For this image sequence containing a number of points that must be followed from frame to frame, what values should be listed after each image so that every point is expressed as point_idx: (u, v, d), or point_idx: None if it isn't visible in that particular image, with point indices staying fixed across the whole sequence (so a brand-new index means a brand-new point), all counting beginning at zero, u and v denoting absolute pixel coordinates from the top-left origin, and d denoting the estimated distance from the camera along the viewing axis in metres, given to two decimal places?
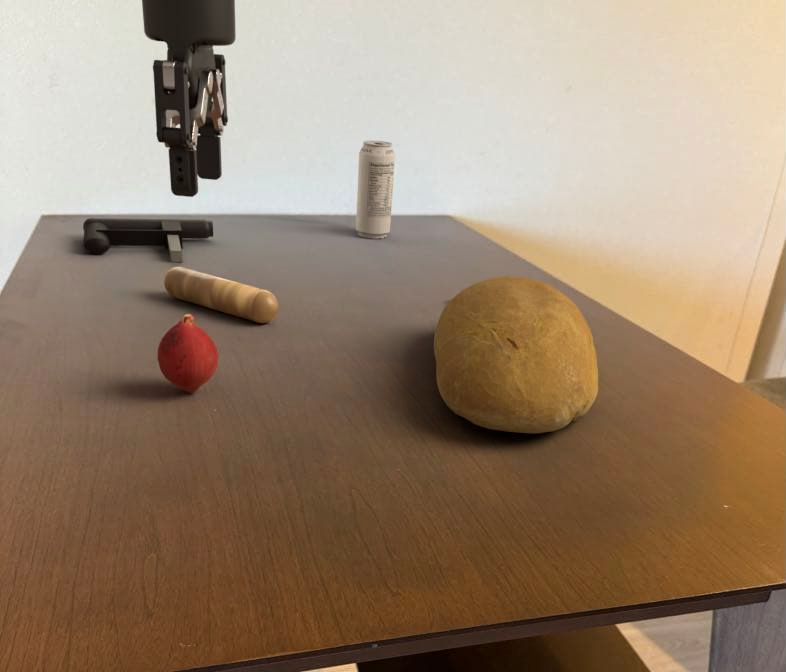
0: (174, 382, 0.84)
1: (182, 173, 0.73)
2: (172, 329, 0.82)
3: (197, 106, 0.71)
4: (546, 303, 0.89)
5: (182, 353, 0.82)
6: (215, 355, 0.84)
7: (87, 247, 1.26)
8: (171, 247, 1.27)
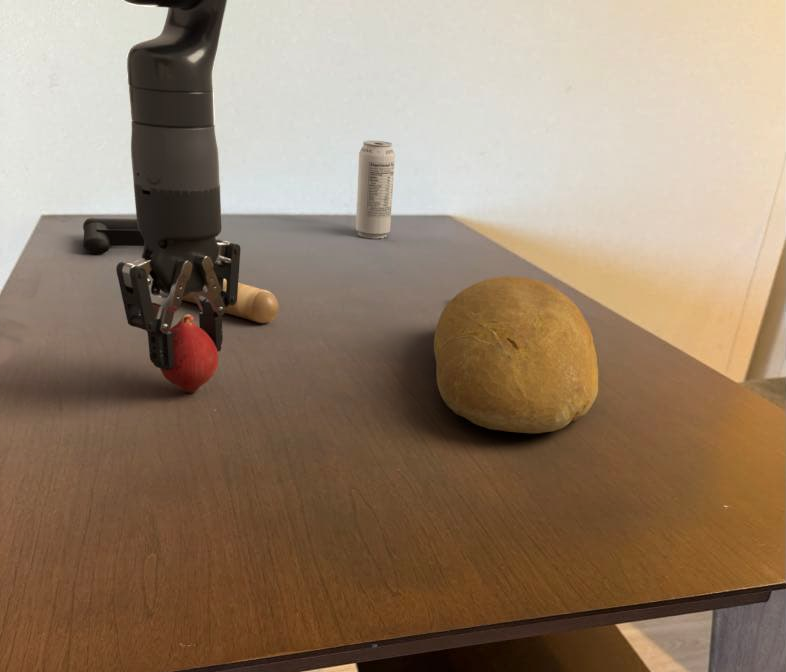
0: (174, 382, 0.84)
1: (156, 351, 0.80)
2: (172, 329, 0.82)
3: (169, 296, 0.78)
4: (546, 303, 0.89)
5: (182, 353, 0.82)
6: (215, 355, 0.84)
7: (87, 248, 1.26)
8: None
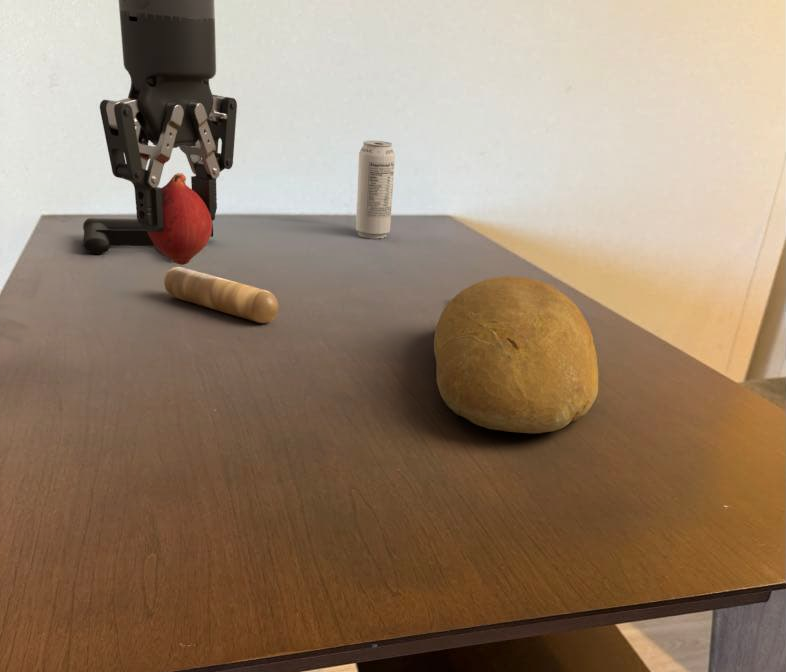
0: (163, 249, 0.77)
1: (143, 209, 0.74)
2: (162, 189, 0.76)
3: (158, 143, 0.71)
4: (546, 303, 0.89)
5: (173, 214, 0.75)
6: (208, 220, 0.77)
7: (87, 248, 1.26)
8: None
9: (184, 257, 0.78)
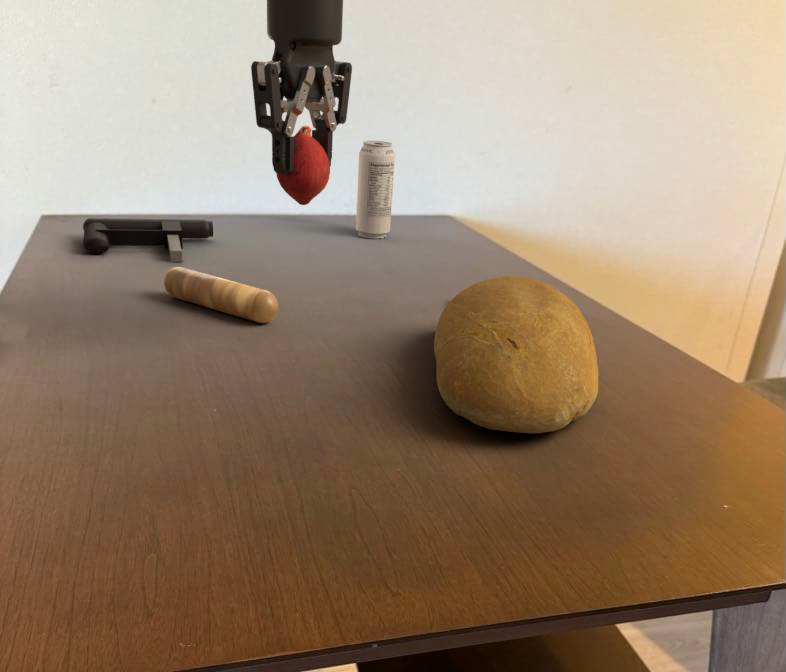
0: (291, 190, 0.91)
1: (278, 154, 0.88)
2: None
3: (295, 98, 0.86)
4: (546, 303, 0.89)
5: (302, 160, 0.89)
6: (329, 166, 0.92)
7: (87, 248, 1.26)
8: (171, 247, 1.27)
9: (307, 198, 0.93)
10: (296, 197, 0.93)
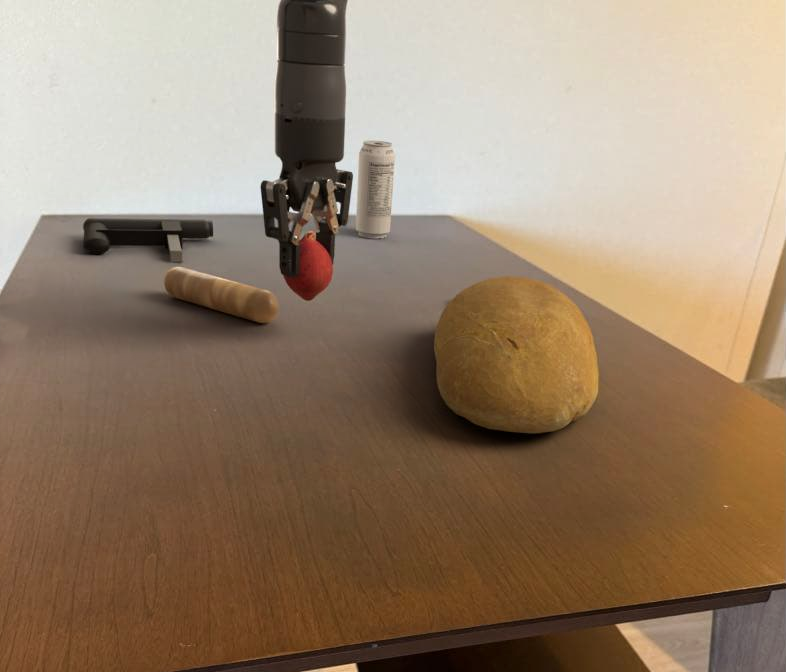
0: (297, 289, 0.98)
1: (285, 260, 0.95)
2: None
3: (300, 211, 0.93)
4: (546, 303, 0.89)
5: (307, 263, 0.96)
6: (332, 267, 0.99)
7: (87, 248, 1.26)
8: (171, 247, 1.27)
9: (311, 295, 1.00)
10: (301, 295, 1.00)
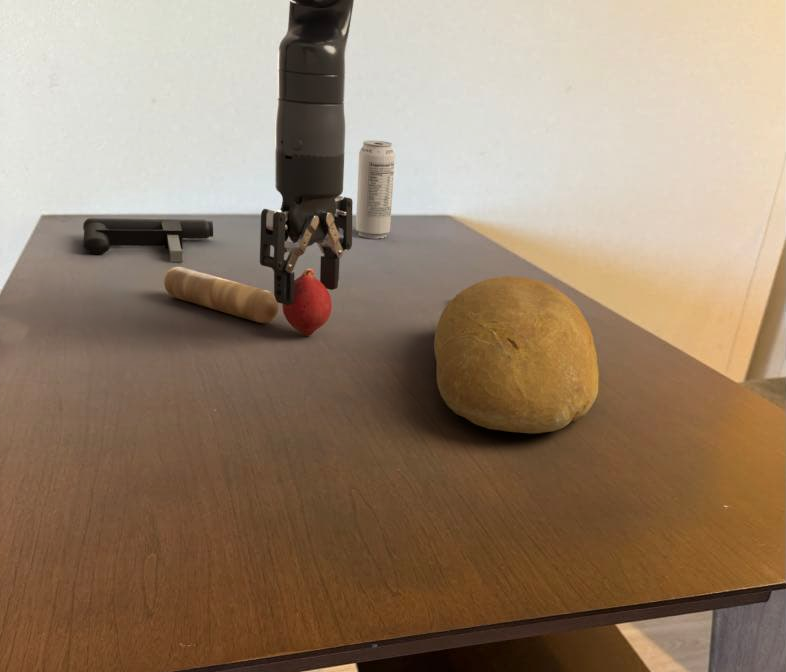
0: (296, 325, 1.01)
1: (280, 288, 0.96)
2: (296, 281, 0.99)
3: (298, 241, 0.94)
4: (546, 303, 0.89)
5: (306, 300, 0.99)
6: (330, 303, 1.01)
7: (87, 247, 1.26)
8: (171, 247, 1.27)
9: (310, 330, 1.02)
10: (301, 330, 1.02)
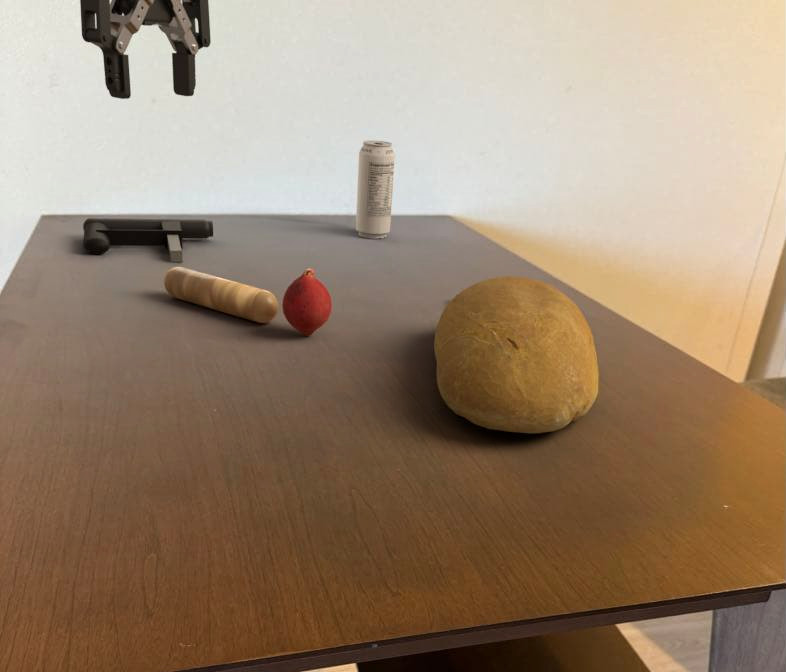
0: (296, 325, 1.01)
1: (111, 74, 0.79)
2: (296, 281, 0.99)
3: (130, 13, 0.77)
4: (546, 303, 0.89)
5: (306, 300, 0.99)
6: (330, 303, 1.01)
7: (87, 248, 1.26)
8: (171, 247, 1.27)
9: (310, 330, 1.02)
10: (301, 330, 1.02)
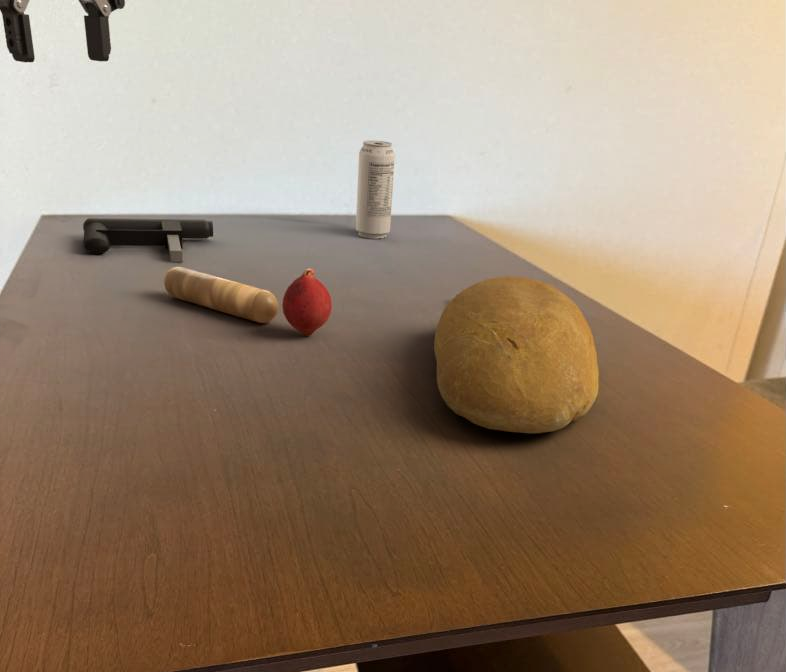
0: (296, 325, 1.01)
1: (12, 36, 0.75)
2: (296, 281, 0.99)
3: None
4: (547, 303, 0.89)
5: (306, 300, 0.99)
6: (330, 303, 1.01)
7: (87, 248, 1.26)
8: (171, 247, 1.27)
9: (310, 330, 1.02)
10: (301, 330, 1.02)
